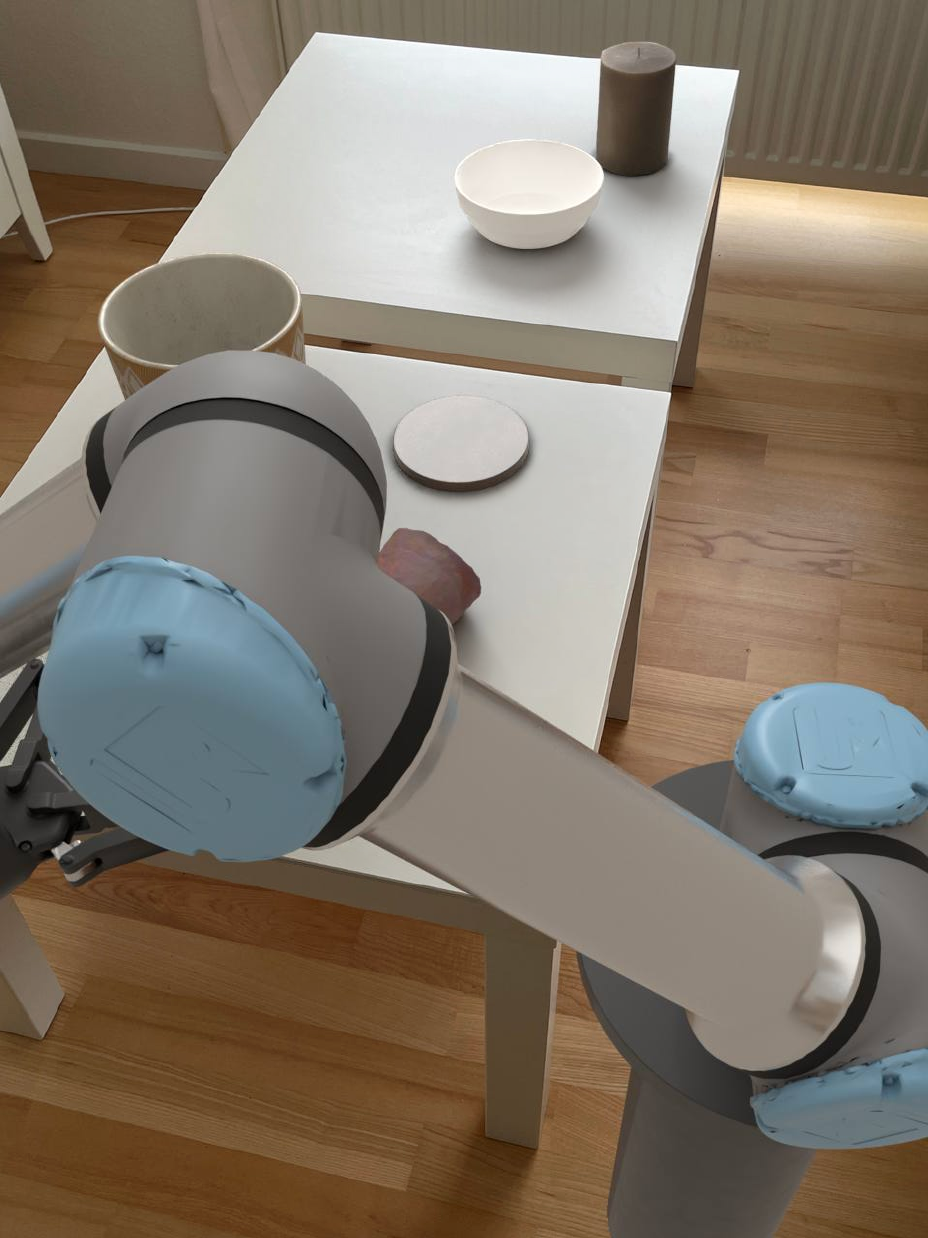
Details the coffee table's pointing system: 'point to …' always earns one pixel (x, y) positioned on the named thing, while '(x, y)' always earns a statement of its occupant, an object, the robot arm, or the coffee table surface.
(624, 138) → the pillar candle
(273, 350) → the planter
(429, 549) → the food
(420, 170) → the coffee table surface
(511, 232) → the bowl
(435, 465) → the cake board
